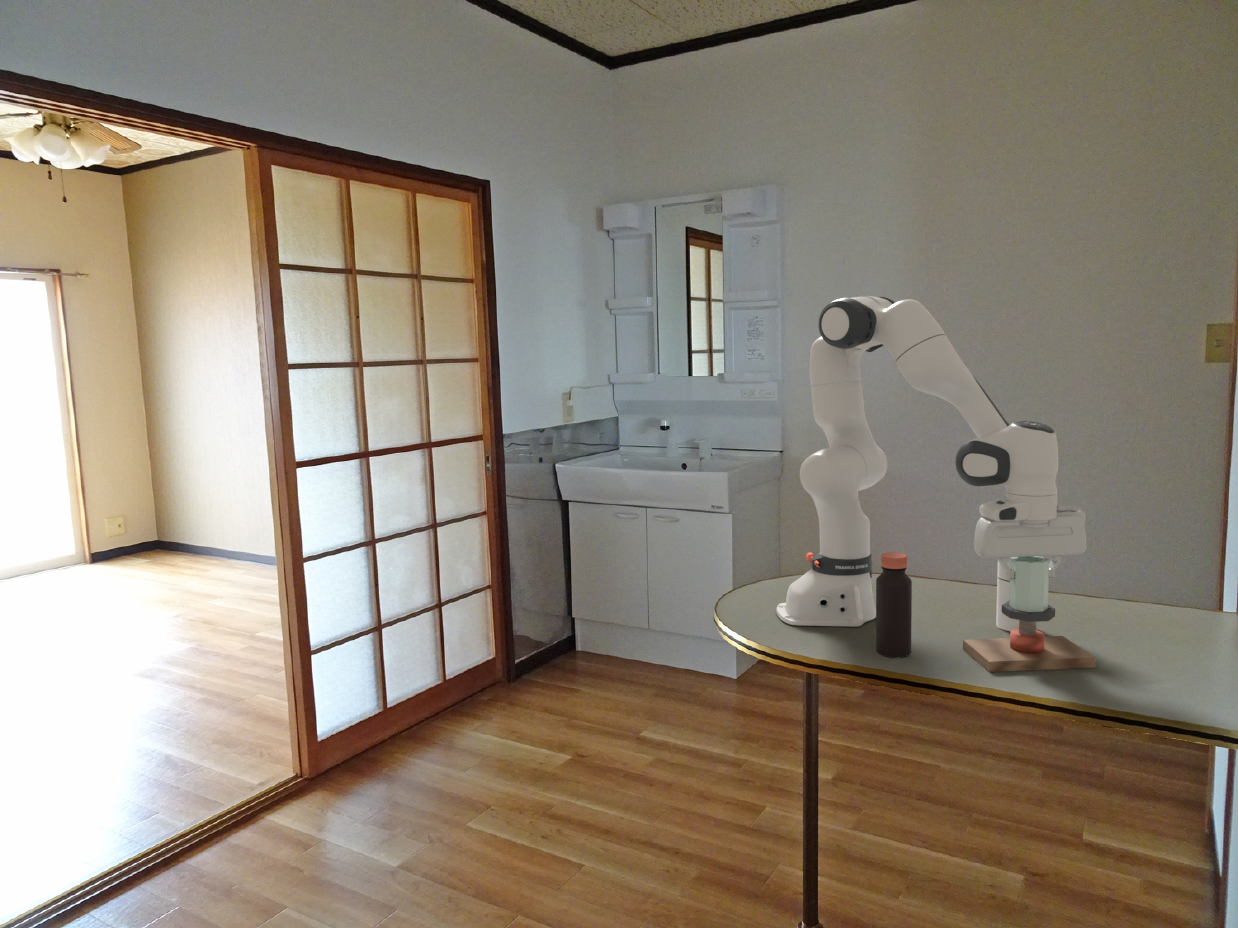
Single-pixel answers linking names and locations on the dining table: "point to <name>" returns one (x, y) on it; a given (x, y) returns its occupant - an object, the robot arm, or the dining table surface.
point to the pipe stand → (1028, 651)
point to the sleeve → (1029, 583)
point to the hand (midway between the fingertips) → (1029, 578)
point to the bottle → (893, 607)
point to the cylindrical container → (1002, 598)
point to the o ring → (1028, 614)
